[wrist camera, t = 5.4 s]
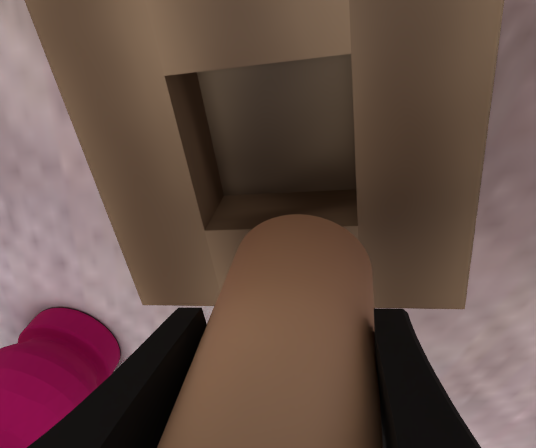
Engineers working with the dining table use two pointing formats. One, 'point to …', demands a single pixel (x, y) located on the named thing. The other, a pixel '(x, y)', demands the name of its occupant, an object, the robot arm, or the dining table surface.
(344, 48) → the socket block
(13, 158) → the dining table surface
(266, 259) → the peg
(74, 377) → the pepper mill
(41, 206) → the dining table surface
